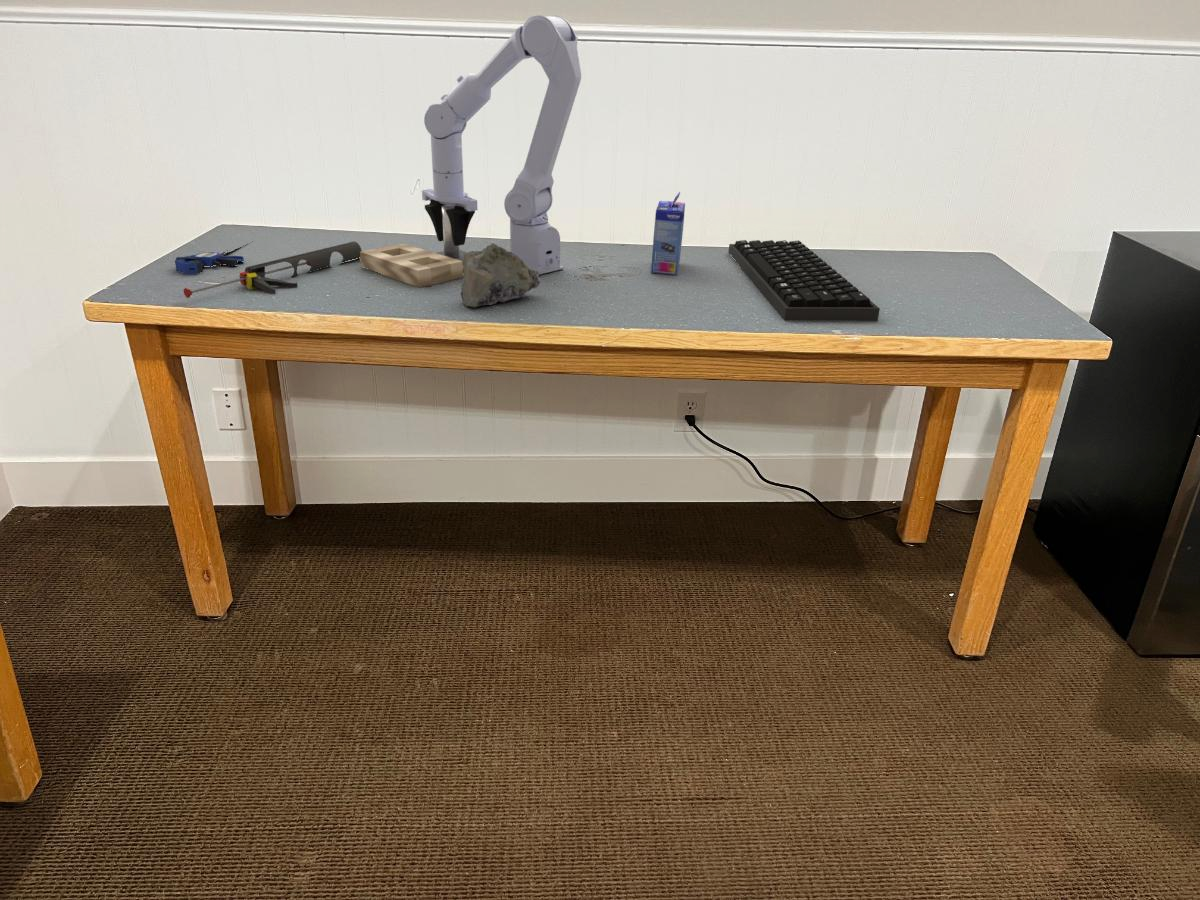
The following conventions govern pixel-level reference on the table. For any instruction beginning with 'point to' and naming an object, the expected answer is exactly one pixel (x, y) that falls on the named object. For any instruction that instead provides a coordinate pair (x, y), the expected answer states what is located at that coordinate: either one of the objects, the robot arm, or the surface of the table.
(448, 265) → the hole block
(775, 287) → the computer keyboard
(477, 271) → the mineral rock
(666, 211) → the ink cartridge box
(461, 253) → the mat
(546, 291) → the table surface
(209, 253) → the bar clamp
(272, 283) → the caulking gun
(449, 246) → the peg
